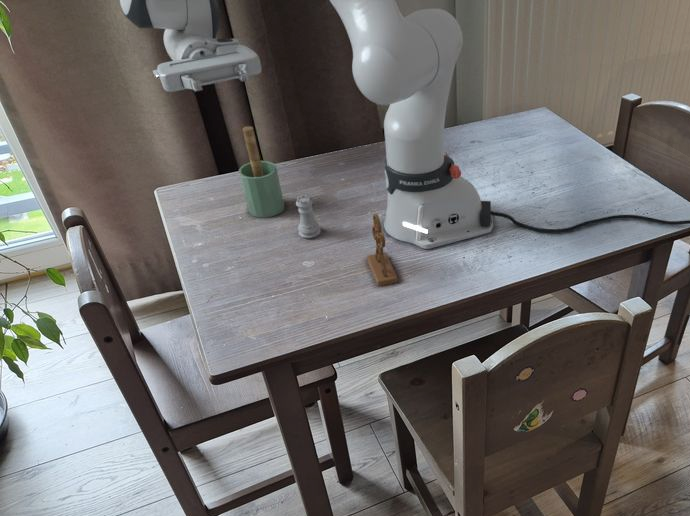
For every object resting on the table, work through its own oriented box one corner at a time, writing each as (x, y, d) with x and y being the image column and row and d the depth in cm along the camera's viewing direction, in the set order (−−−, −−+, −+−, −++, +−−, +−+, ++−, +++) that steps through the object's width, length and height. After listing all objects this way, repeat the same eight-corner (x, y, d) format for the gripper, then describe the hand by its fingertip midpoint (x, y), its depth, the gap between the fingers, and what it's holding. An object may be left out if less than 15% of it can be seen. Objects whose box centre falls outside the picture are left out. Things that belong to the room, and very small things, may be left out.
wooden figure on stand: (366, 259, 122) (359, 204, 113) (386, 255, 123) (381, 200, 114) (377, 286, 116) (371, 230, 107) (398, 282, 117) (393, 226, 108)
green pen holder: (283, 197, 138) (275, 158, 132) (285, 214, 133) (277, 175, 127) (248, 201, 137) (238, 162, 130) (249, 219, 131) (239, 180, 125)
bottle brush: (274, 200, 136) (256, 123, 124) (274, 208, 133) (257, 131, 122) (256, 202, 135) (237, 125, 124) (257, 211, 133) (238, 133, 121)
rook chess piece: (299, 240, 126) (292, 205, 121) (298, 228, 129) (291, 193, 124) (321, 238, 127) (315, 202, 121) (320, 226, 130) (314, 191, 124)
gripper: (145, 54, 128) (163, 76, 120) (243, 36, 137) (266, 55, 128) (155, 86, 133) (173, 109, 124) (250, 67, 141) (273, 87, 133)
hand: (221, 81), depth 126 cm, fingers open, 8 cm apart
